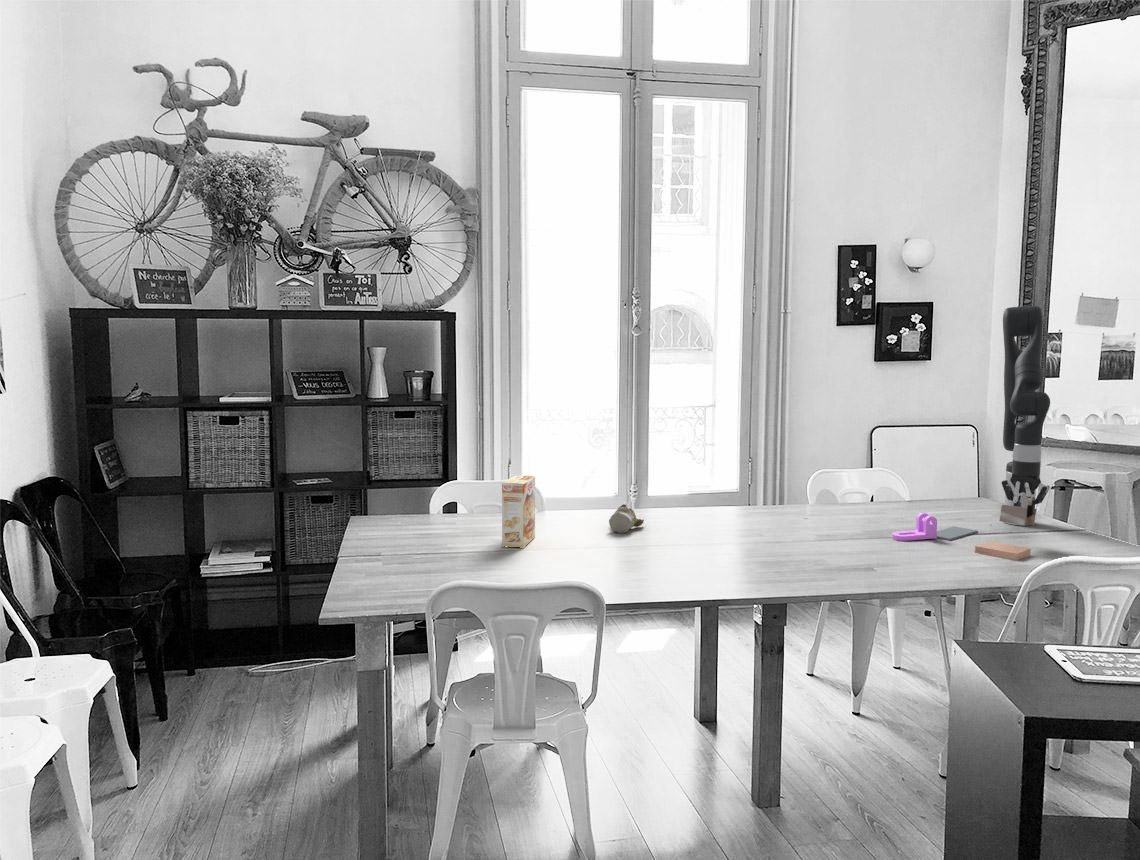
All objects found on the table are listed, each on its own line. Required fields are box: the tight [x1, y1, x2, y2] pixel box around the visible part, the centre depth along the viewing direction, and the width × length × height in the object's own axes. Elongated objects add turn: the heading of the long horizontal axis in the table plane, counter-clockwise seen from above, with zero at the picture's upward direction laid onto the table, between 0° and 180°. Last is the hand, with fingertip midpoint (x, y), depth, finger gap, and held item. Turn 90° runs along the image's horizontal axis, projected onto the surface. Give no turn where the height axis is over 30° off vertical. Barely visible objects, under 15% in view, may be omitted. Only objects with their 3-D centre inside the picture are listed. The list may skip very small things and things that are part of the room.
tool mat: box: [936, 525, 979, 542], centre depth 297 cm, size 18×8×1 cm, turn 130°
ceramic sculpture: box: [608, 504, 645, 534], centre depth 302 cm, size 11×9×15 cm
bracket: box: [891, 512, 938, 542], centre depth 291 cm, size 13×6×7 cm, turn 99°
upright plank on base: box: [999, 504, 1037, 526], centre depth 279 cm, size 12×7×5 cm, turn 130°
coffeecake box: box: [501, 474, 536, 549], centre depth 284 cm, size 15×7×20 cm, turn 168°
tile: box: [974, 541, 1032, 561], centre depth 272 cm, size 2×12×9 cm
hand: (1023, 515), depth 280 cm, fingers closed on upright plank on base, 3 cm apart
